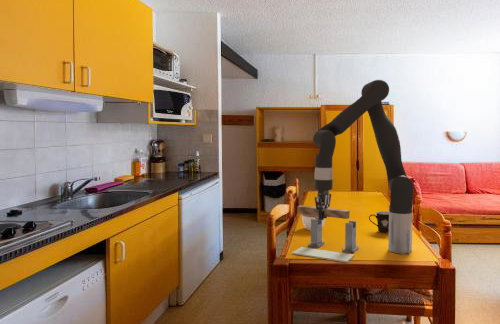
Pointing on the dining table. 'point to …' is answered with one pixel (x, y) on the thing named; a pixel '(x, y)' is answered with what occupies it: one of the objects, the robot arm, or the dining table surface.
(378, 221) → the coffee mug
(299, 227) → the dining table surface
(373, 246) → the dining table surface
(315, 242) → the forked posts
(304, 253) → the white flat slab
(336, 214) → the walnut bar
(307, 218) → the lidded bowl
